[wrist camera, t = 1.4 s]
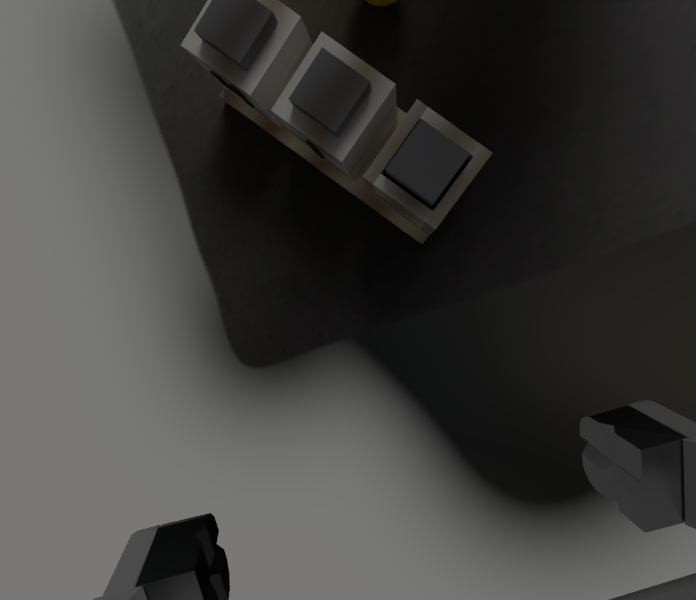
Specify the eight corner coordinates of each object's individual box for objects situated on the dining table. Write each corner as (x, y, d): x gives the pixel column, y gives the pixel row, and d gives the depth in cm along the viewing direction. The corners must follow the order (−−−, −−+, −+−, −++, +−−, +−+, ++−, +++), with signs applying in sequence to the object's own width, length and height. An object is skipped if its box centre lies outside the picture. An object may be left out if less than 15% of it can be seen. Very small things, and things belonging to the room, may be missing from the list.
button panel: (225, 101, 46) (164, 47, 34) (274, 24, 45) (228, -60, 33) (421, 244, 45) (428, 239, 33) (477, 169, 44) (505, 136, 32)
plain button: (388, 183, 40) (385, 169, 33) (418, 141, 39) (421, 118, 33) (428, 212, 40) (433, 203, 33) (459, 170, 39) (470, 153, 33)
